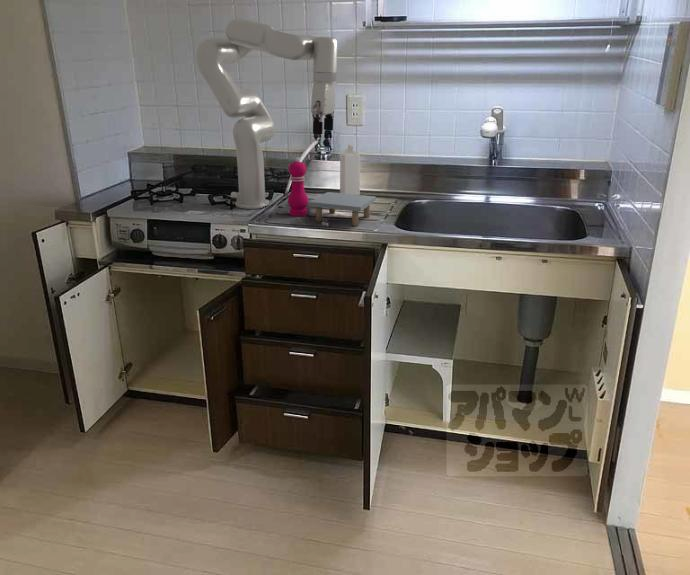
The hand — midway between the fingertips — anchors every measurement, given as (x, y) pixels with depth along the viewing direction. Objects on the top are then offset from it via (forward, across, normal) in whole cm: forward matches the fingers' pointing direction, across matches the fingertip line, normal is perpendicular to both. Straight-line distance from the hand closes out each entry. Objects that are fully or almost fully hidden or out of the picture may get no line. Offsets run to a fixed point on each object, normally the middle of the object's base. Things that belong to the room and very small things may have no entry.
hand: (323, 132), depth 201 cm
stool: (+28, +2, +9) cm, 30 cm away
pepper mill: (+29, +2, -8) cm, 30 cm away
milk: (+29, -18, +4) cm, 34 cm away
